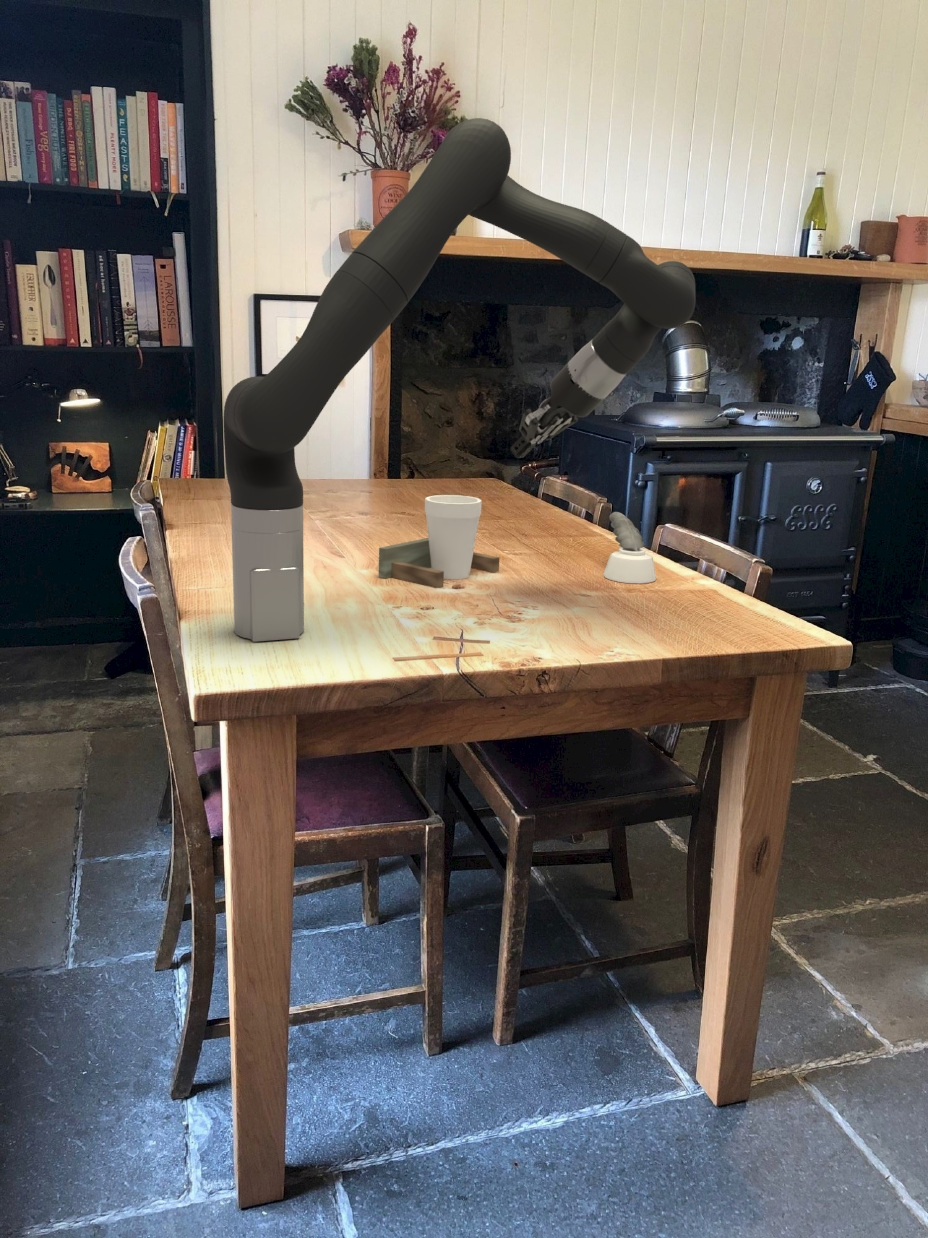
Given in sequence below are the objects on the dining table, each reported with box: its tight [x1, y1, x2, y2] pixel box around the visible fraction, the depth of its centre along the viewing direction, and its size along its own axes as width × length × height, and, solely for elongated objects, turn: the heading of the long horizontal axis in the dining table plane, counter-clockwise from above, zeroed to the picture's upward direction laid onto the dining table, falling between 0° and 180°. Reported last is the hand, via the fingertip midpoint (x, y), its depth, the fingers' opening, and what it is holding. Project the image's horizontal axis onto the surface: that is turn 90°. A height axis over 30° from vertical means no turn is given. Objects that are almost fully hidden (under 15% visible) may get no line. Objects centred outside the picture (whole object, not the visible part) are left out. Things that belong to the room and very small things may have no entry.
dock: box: [378, 537, 501, 589], centre depth 168 cm, size 12×20×5 cm, turn 142°
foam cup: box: [424, 494, 483, 580], centre depth 166 cm, size 10×9×13 cm
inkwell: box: [603, 511, 657, 585], centre depth 174 cm, size 9×18×10 cm, turn 13°
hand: (515, 453), depth 154 cm, fingers closed
